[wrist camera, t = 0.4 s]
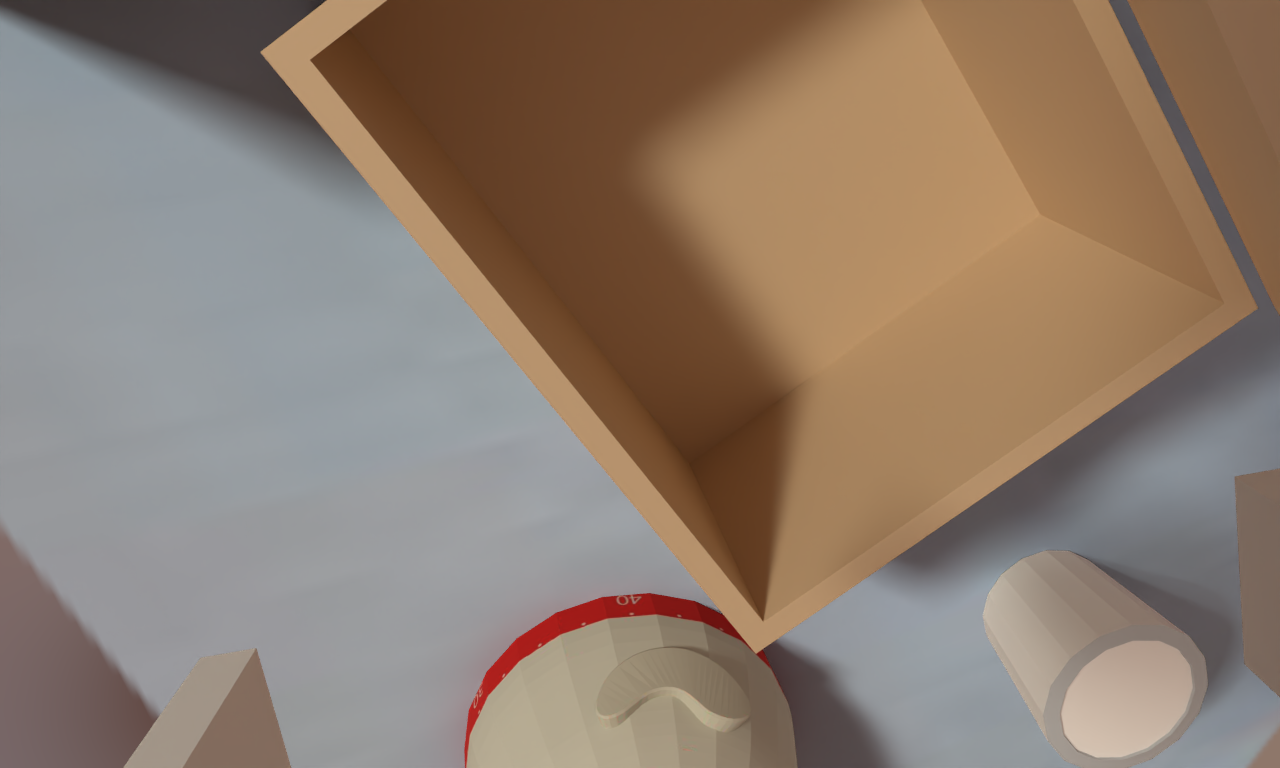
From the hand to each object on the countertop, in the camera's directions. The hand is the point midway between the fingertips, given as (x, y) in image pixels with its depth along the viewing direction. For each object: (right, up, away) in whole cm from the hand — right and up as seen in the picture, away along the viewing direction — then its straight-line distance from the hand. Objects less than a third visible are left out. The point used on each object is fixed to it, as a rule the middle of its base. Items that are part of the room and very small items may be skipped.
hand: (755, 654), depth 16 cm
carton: (+1, +13, +27) cm, 30 cm away
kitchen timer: (-2, -11, +36) cm, 38 cm away
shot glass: (+16, -6, +37) cm, 41 cm away
